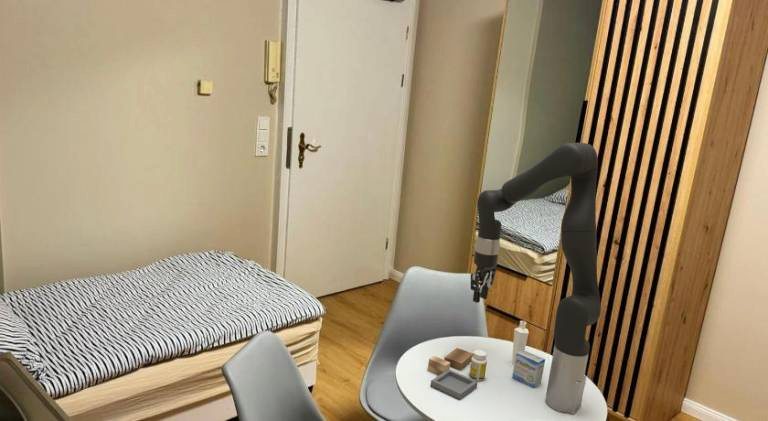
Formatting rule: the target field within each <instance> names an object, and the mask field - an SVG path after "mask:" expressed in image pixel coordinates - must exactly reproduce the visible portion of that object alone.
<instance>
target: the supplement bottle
mask: <svg viewBox="0 0 768 421" xmlns="http://www.w3.org/2000/svg"><path fill="white" fill-rule="evenodd" d="M472 353H473V357H472V359H471V363H470V366H469V367H470V368H469V374H468V375H469V378H470V379H473V380H475V381H477V382H483V381H484V380H485V379H486V372H487V363H488V360H487V352H486V351H485V350H484V349H475V350H474V351H473V352H472Z"/></svg>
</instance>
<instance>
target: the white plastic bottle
mask: <svg viewBox="0 0 768 421" xmlns="http://www.w3.org/2000/svg"><path fill="white" fill-rule="evenodd" d="M527 324H528V323H527V322H526V321H525V320H519V326H518V327H516V328H514V333H513V334H514V335H513V343H512V356H511V357H512V359H511V361H510V364H511V363H512V364H511V365H513V366H514V364H515V358H516V353H518V352H519V351H521V350H524V351H526V346H527V342H528V337H529V333H530V332H529V329H528V328H526V326H527Z"/></svg>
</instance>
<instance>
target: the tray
mask: <svg viewBox="0 0 768 421" xmlns="http://www.w3.org/2000/svg"><path fill="white" fill-rule="evenodd" d="M478 383H479V381H475V380H473V379H471V378H470V377H468V376H466V375H464V374H461V373H459V372H456V371H455V370H452V369H451V368H450V369H448V370H447V371H445V372H444V373H442V374H440V375H436V377H434V378H433V379H431V380H430V387H431V388H432V389H435V390H437V391H439V392H441V393H443V394H444V395H445V394H446V395H447V396H449V397H452V398H453V399H456V400H458V401H461V400H462V399H464V398H465V397H466V396H468V395H469V394H470V393H472V392H473V391H474V390H476V389H477V388H478Z"/></svg>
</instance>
